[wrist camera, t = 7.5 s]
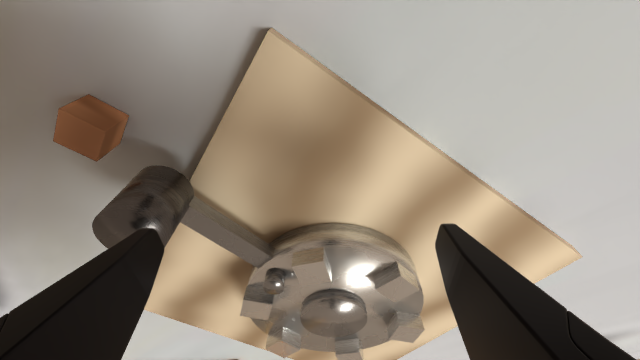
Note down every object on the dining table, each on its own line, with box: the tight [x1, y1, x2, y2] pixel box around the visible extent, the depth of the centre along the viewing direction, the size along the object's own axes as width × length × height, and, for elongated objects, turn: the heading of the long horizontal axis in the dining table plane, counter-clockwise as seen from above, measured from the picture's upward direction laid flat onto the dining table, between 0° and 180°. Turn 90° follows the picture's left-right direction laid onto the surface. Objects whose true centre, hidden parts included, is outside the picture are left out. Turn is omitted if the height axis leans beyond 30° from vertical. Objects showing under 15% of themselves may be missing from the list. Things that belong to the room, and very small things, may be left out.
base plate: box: [53, 28, 582, 360], centre depth 21 cm, size 30×24×2 cm
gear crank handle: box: [92, 166, 425, 360], centre depth 18 cm, size 20×12×4 cm, turn 45°
